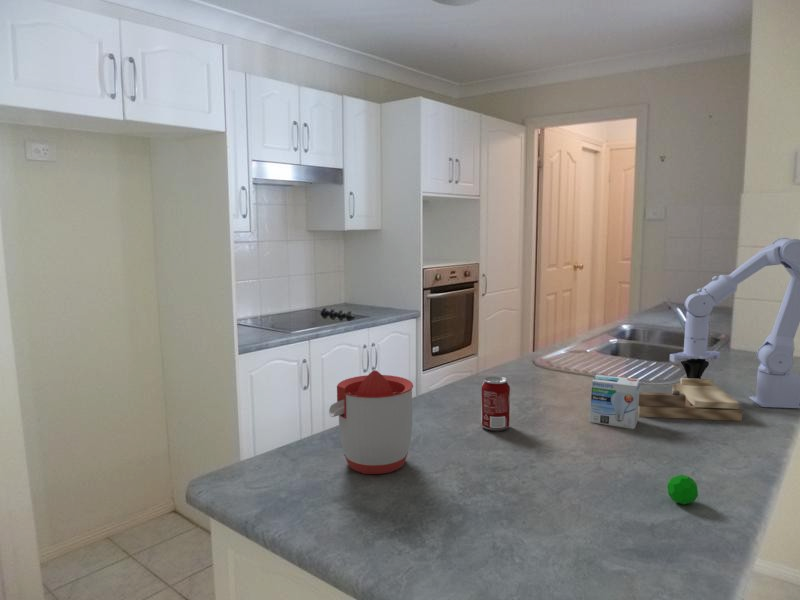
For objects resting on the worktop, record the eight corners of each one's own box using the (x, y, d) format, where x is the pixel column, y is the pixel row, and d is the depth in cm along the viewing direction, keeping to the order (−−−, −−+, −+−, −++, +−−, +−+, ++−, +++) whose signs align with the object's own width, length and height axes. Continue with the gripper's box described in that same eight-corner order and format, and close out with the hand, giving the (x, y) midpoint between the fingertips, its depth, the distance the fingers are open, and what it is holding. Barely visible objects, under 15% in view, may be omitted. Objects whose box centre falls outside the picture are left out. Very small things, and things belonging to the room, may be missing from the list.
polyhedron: (661, 502, 104) (663, 476, 104) (672, 492, 108) (674, 468, 107) (691, 512, 101) (693, 486, 100) (701, 501, 104) (703, 476, 103)
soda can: (508, 433, 138) (509, 384, 136) (480, 431, 139) (480, 382, 138) (509, 423, 144) (510, 376, 143) (481, 421, 146) (482, 375, 144)
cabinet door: (682, 405, 148) (683, 390, 148) (685, 407, 146) (685, 392, 146) (636, 403, 150) (637, 388, 150) (638, 405, 148) (639, 391, 148)
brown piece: (713, 397, 163) (714, 386, 163) (741, 420, 144) (742, 408, 144) (623, 393, 167) (623, 383, 167) (639, 416, 148) (639, 404, 148)
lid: (715, 389, 160) (715, 379, 159) (738, 408, 144) (739, 396, 144) (676, 388, 161) (676, 377, 161) (695, 407, 146) (695, 395, 145)
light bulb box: (589, 422, 144) (590, 380, 143) (593, 414, 150) (595, 373, 149) (635, 429, 139) (637, 385, 138) (638, 420, 145) (640, 378, 144)
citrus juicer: (322, 456, 126) (319, 365, 123) (398, 444, 132) (397, 358, 129) (341, 487, 111) (338, 385, 108) (425, 472, 117) (425, 375, 114)
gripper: (683, 342, 155) (680, 391, 157) (729, 338, 158) (726, 387, 160) (665, 336, 162) (663, 384, 164) (710, 333, 165) (707, 380, 167)
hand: (693, 385), depth 162 cm, fingers closed
